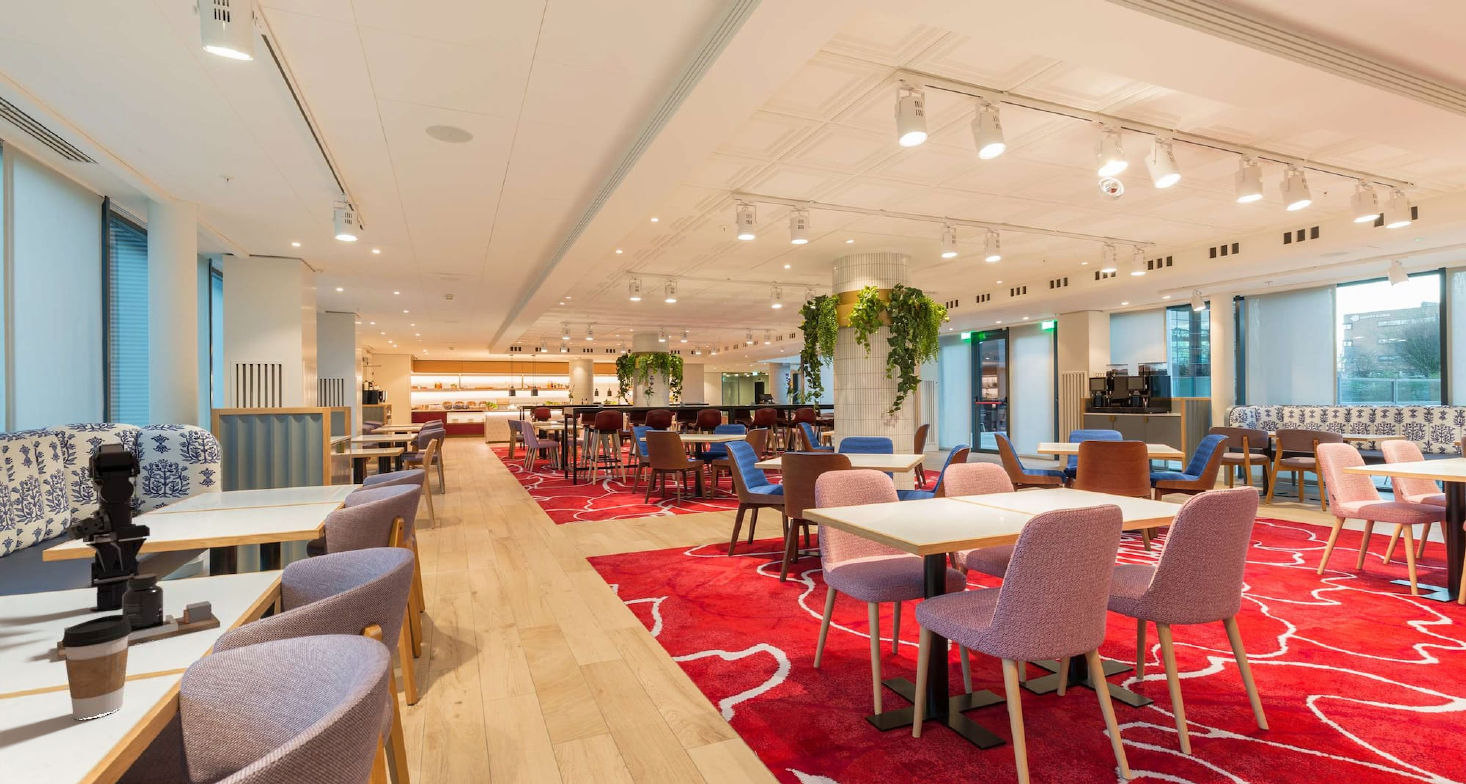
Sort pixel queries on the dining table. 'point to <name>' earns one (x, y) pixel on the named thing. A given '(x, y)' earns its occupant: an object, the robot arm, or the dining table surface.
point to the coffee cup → (97, 664)
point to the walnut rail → (170, 626)
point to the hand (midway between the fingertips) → (116, 570)
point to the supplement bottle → (143, 602)
